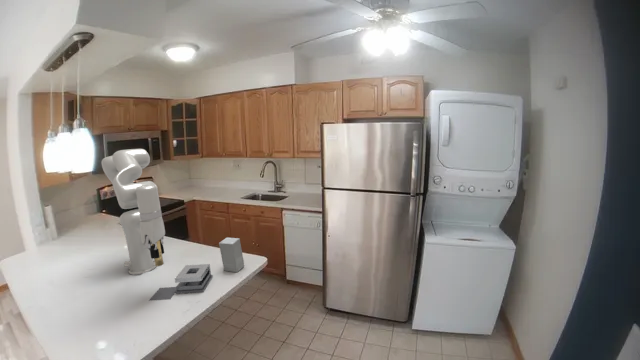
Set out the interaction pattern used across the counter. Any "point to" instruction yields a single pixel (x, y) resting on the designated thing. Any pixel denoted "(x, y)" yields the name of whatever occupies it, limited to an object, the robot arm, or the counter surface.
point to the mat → (164, 293)
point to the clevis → (193, 279)
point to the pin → (159, 260)
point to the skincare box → (231, 254)
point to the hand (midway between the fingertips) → (157, 255)
